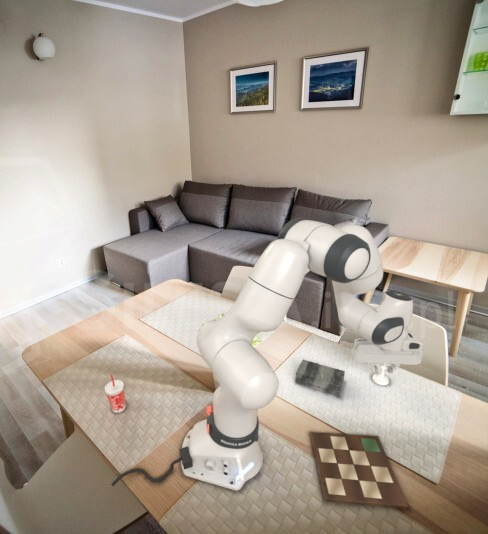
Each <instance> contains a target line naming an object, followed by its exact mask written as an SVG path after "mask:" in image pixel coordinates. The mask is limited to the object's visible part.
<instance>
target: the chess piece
mask: <svg viewBox="0 0 488 534" xmlns="http://www.w3.org/2000/svg"><path fill="white" fill-rule="evenodd" d="M379 368H380V370H379V372H377V373H373V374H372V377H371V379H372V381H373V383H376V384H378V385H380V386H387V385H388V384H389V383H390V379H389V377H388V376H387V375H385V370H387V368H388V366H387V364H379Z"/></svg>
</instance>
